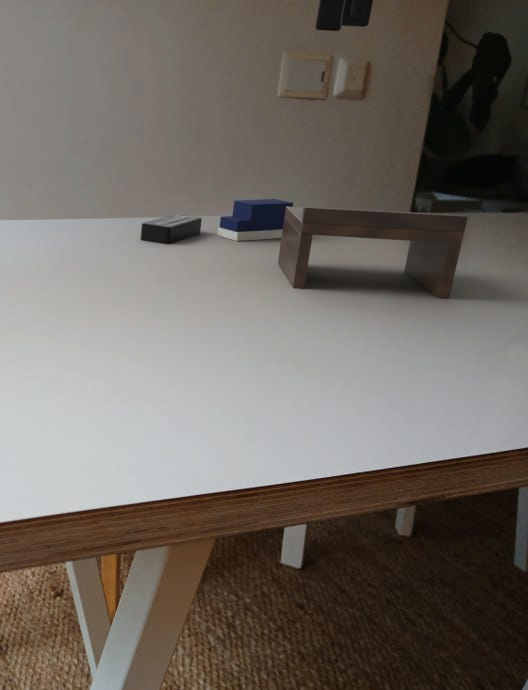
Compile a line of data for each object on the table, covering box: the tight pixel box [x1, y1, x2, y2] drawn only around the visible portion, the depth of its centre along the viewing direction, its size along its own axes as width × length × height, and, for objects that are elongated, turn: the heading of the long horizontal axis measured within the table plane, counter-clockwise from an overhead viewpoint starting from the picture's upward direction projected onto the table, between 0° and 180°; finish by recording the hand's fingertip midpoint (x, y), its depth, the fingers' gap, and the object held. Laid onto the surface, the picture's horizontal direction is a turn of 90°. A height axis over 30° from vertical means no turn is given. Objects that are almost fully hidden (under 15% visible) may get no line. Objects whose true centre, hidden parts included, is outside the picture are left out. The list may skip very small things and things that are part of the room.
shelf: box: [277, 206, 469, 299], centre depth 83 cm, size 16×12×9 cm
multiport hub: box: [140, 213, 203, 245], centre depth 105 cm, size 4×11×2 cm, turn 145°
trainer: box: [216, 198, 294, 242], centre depth 107 cm, size 10×4×5 cm, turn 116°
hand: (340, 28), depth 93 cm, fingers open, 9 cm apart
